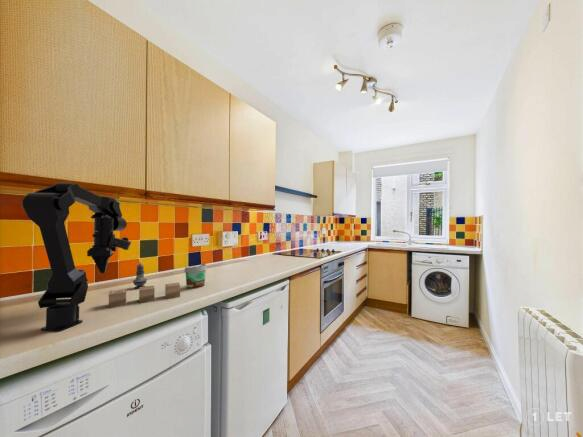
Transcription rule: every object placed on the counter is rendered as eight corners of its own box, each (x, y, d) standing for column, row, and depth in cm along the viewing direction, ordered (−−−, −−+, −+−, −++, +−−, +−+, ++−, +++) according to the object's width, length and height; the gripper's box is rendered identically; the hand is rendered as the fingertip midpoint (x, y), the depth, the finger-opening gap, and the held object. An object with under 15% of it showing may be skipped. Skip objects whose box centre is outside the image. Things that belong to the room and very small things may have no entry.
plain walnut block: (154, 301, 92) (154, 288, 92) (139, 303, 89) (139, 290, 90) (153, 297, 96) (153, 285, 96) (139, 299, 94) (139, 287, 94)
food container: (195, 290, 107) (195, 268, 107) (184, 289, 109) (184, 267, 109) (212, 284, 118) (212, 264, 119) (202, 283, 120) (202, 263, 121)
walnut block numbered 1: (180, 296, 97) (180, 284, 97) (166, 299, 94) (166, 286, 95) (178, 294, 101) (178, 281, 102) (165, 296, 99) (165, 283, 99)
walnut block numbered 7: (125, 305, 87) (125, 291, 87) (108, 308, 84) (108, 293, 84) (126, 301, 91) (126, 288, 91) (109, 304, 88) (110, 290, 89)
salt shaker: (130, 289, 108) (130, 263, 108) (135, 286, 114) (135, 261, 114) (144, 288, 110) (145, 263, 110) (148, 285, 115) (149, 261, 116)
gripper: (127, 231, 84) (127, 275, 83) (131, 230, 100) (130, 267, 99) (87, 231, 78) (86, 278, 78) (98, 231, 94) (97, 270, 94)
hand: (102, 273), depth 87 cm, fingers closed
